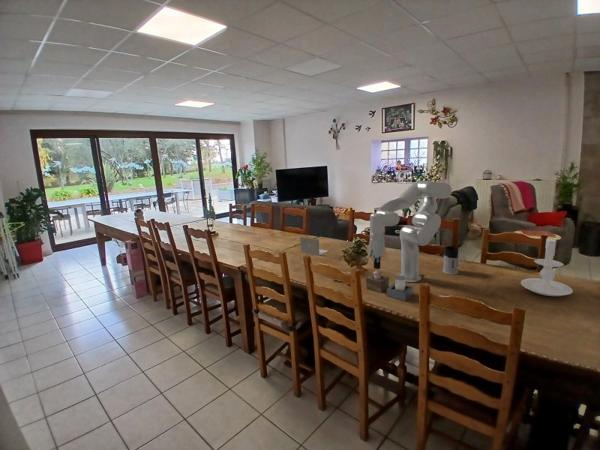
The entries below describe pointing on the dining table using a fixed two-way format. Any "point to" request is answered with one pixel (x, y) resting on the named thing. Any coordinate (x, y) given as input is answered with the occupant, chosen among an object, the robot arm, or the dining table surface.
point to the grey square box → (377, 283)
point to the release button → (377, 275)
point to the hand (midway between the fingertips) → (377, 268)
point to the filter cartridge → (400, 283)
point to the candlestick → (547, 275)
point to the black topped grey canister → (451, 260)
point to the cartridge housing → (400, 292)
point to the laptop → (311, 246)
